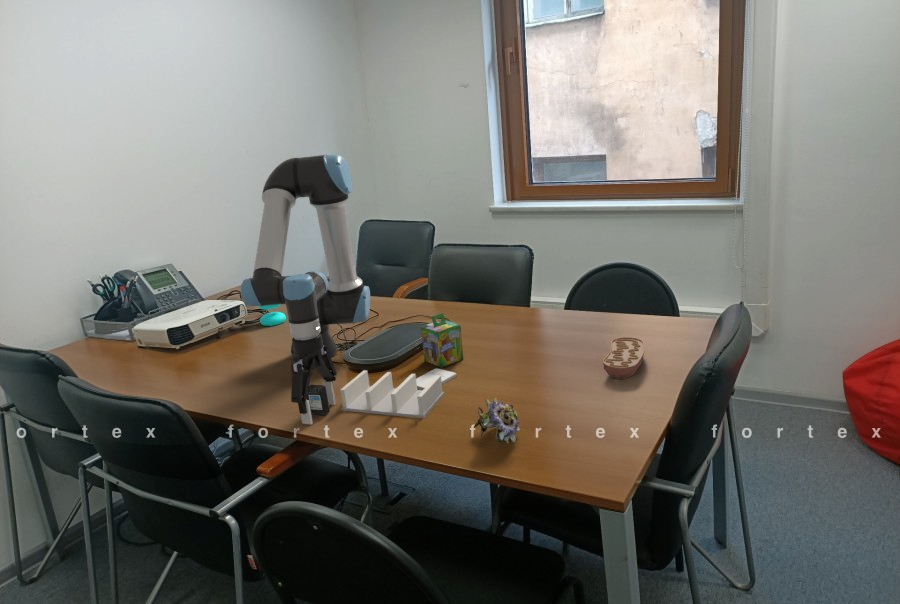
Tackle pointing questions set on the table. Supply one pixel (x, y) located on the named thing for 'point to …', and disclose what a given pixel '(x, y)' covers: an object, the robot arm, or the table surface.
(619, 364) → the anatomical model
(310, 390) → the ink cartridge
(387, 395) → the divider rack
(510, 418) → the passion flower
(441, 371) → the external hard drive
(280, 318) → the donuts
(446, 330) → the chalk box
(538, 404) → the table surface
